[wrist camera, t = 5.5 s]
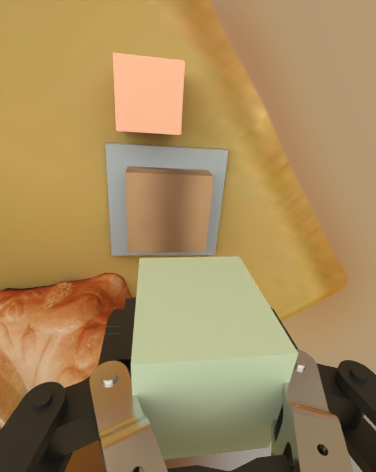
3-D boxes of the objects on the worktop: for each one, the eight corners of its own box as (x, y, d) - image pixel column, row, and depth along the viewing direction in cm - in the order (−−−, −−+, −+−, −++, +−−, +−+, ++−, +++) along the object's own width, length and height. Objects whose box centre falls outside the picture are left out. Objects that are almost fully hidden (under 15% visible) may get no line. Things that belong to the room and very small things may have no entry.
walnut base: (129, 239, 29) (127, 252, 27) (127, 166, 26) (125, 172, 23) (200, 239, 30) (205, 252, 28) (207, 169, 27) (213, 176, 24)
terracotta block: (122, 126, 26) (116, 130, 20) (120, 66, 23) (112, 52, 18) (173, 130, 26) (180, 135, 21) (176, 71, 24) (184, 60, 19)
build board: (112, 250, 31) (111, 255, 30) (106, 142, 26) (105, 143, 25) (212, 250, 33) (215, 254, 32) (225, 149, 28) (228, 150, 27)
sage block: (139, 257, 13) (130, 365, 7) (239, 256, 13) (298, 353, 8) (141, 335, 15) (136, 462, 9) (228, 330, 16) (268, 447, 10)
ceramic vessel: (176, 337, 38) (193, 459, 25) (-12, 374, 36) (-106, 530, 23) (161, 254, 32) (171, 357, 19) (-67, 294, 30) (-238, 441, 17)
